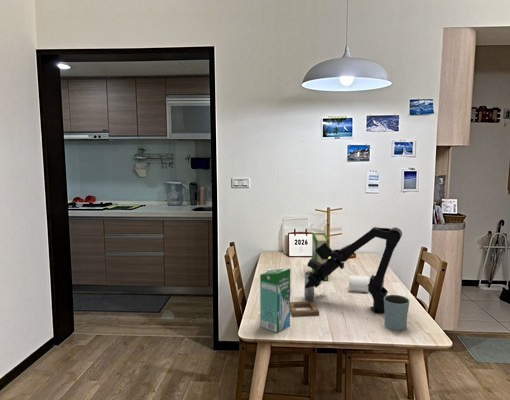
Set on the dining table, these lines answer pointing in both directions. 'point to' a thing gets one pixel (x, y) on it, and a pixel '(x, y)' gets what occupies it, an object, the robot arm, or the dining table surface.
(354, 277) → the mug
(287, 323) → the milk carton
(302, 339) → the dining table surface
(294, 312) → the holder
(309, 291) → the grey brushed cylinder
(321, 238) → the hardback book
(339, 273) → the dining table surface
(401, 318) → the grey-green cup
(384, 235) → the robot arm
